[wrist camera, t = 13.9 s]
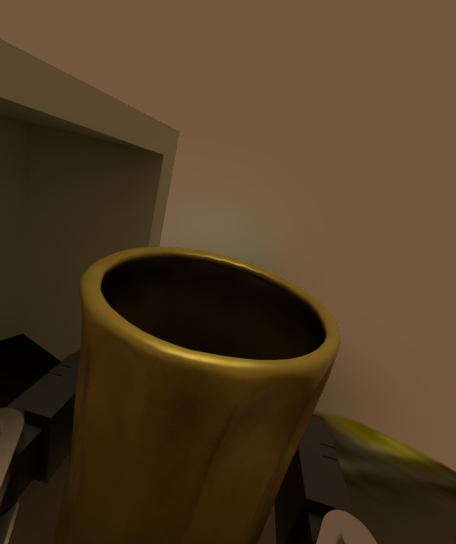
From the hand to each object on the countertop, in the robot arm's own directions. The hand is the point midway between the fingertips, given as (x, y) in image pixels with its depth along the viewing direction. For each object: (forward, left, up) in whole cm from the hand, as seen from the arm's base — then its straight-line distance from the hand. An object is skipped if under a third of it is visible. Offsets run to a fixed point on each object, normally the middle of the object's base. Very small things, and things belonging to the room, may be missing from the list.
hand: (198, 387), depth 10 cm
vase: (+1, -2, -9) cm, 10 cm away
